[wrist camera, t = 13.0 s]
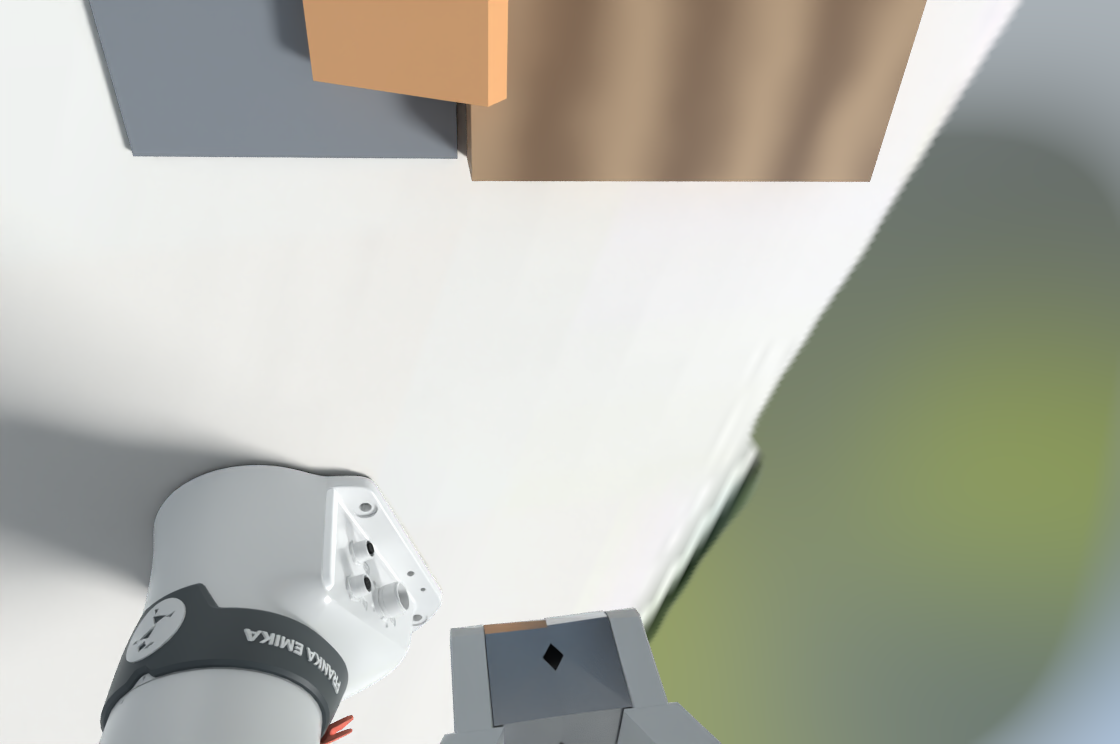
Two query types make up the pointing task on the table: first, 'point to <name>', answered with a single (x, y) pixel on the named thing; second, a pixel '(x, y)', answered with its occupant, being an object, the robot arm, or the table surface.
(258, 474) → the robot arm
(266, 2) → the mat
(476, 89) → the block
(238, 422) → the table surface
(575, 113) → the deck
